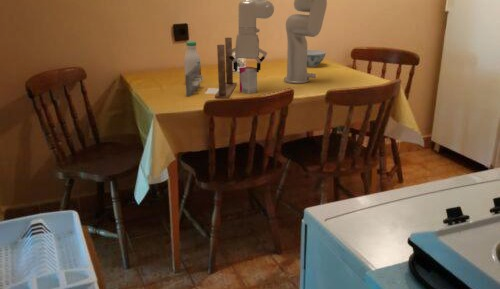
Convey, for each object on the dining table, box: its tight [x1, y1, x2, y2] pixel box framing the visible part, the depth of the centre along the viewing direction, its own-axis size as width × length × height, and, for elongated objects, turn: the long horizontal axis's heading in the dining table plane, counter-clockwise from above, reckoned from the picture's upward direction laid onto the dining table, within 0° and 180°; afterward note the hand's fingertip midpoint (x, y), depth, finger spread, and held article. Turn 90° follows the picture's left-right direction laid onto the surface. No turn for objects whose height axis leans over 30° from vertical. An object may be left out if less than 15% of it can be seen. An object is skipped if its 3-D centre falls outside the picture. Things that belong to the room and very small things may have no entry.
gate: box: [214, 37, 238, 99], centre depth 198 cm, size 6×24×22 cm, turn 174°
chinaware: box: [307, 49, 326, 68], centre depth 254 cm, size 15×15×8 cm
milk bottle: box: [183, 40, 202, 82], centre depth 216 cm, size 8×8×20 cm
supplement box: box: [239, 66, 258, 95], centre depth 199 cm, size 6×6×12 cm
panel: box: [184, 66, 204, 98], centre depth 202 cm, size 4×20×10 cm, turn 174°
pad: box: [204, 87, 219, 95], centre depth 202 cm, size 10×10×1 cm
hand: (246, 71), depth 197 cm, fingers open, 9 cm apart
